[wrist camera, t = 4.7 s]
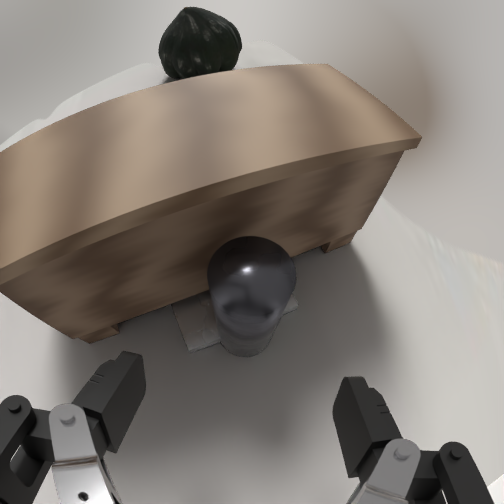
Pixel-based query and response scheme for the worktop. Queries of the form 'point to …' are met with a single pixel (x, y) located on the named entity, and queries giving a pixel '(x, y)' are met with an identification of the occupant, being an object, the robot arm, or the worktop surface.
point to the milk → (497, 490)
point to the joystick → (240, 297)
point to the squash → (199, 44)
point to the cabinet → (186, 188)
